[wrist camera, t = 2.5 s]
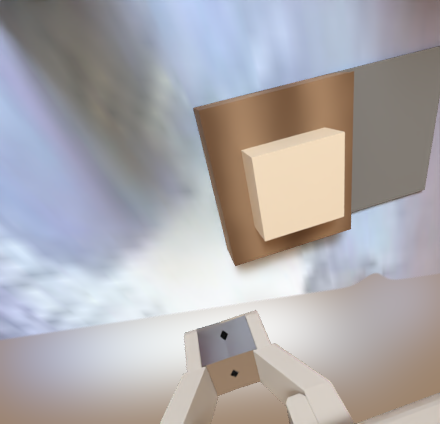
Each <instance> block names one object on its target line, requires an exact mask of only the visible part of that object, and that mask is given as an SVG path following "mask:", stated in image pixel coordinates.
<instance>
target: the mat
mask: <svg viewBox="0 0 440 424" xmlns="http://www.w3.org/2000/svg"><path fill="white" fill-rule="evenodd" d="M351 71H354V104H353V150H352V196H351V212H355V211H358V210H361V209H364V208H367V207H371V206H374V205H377V204H380V203H383V202H387V201H390V200H393V199H396V198H399V197H403V196H406V195H409V194H412V193H415V192H419V191H422V190H425V184H426V178H427V172H428V165H429V159H430V153H431V147H432V141H433V134H434V128H435V122H436V116H437V110H438V103H439V97H440V46H438V47H434V48H430V49H426V50H422V51H418V52H414V53H410V54H406V55H402V56H398V57H394V58H390V59H386V60H382V61H378V62H374V63H370V64H366V65H362V66H358V67H354V68H350V69H346V70H342V71H338V72H334V73H340V72H351Z"/></svg>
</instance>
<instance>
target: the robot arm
mask: <svg viewBox="0 0 440 424" xmlns="http://www.w3.org/2000/svg"><path fill="white" fill-rule="evenodd" d="M184 342H185V352H186V366H187V373H185V374H183V376H182V378H181V380H180V382H179V384H178V386H177V388H176V390H175V392H174V395H173V397H172V399H171V401H170V403H169V405H168V407H167V410H166V412H165V414H164V416H163V418H162V420H161V423H160V424H211V422H212V418H213V414H214V411H215V407H216V404H217V400H218V396H219V395H222V394H225V393H227V392H230V391H232V390H235V389H238V388H241V387H244V386H247V385H250V384H253V383H257V382H260V381H261V383H262V384H263V385H264V386H265V387H266V388H268V390H269V391H270V392H271V393H272V394H273V395H275V396H276V397H277V398H278V399H279V400H280V401H281V402H282V403H283V404H284V405H285V406H286V407H287V412H288V418H289V423H290V424H355V423H354V421H353V419H352V418H351V416H350V414H349V412H348V411H347V409H346V407H345V405H344V404H343V402H342V400H341V398H340V397H339V395H338V393H337V392H336V390H335V388H334V386H333V385H332V383H331V381H329V380H328V379H326V378H325V377H323V376H322V375H320V374H319V373H318V372H316V371H315V370H313V369H312V368H310V367H309V366H307V365H306V364H305V363H303V362H302V361H300V360H298V359H297V358H296V357H294V356H293V355H291V354H290V353H288V352H287V351H285V350H284V349H283V348H281V347H280V346H278V345H277V344H271V343H270V340H269V338H268V335H267V333H266V331H265V329H264V326H263V324H262V321H261V319H260V317H259V315H258V313H257V311H256V310H255V311H252V312H248V313H245V314H242V315H239V316H236V317H233V318H230V319H227V320H224V321H221V322H219V323H216V324H213V325H209V326H205V327H202V328H198V329H196V330H192V331H189V332H186V333H185V334H184ZM356 424H440V393H438V394H435V395H432V396H429V397H427V398H424V399H421V400H419V401H416V402H413V403H411V404H408V405H405V406H403V407H400V408H397V409H394V410H392V411H389V412H386V413H383V414H381V415H378V416H375V417H373V418H370V419H367V420H364V421H362V422H359V423H356Z"/></svg>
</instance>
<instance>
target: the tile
mask: <svg viewBox="0 0 440 424" xmlns="http://www.w3.org/2000/svg"><path fill="white" fill-rule="evenodd" d="M241 152H242V158H243V163H244V169H245V175H246V180H247V186H248V192H249V197H250V203H251V209H252V214H253V220H254V226H255V228H256V229H257V231H258V232H259V234H260V235H261V236H262V238H263V239H264V241H268V240H271V239H274V238H278V237H281V236H284V235H287V234H290V233H294V232H297V231H300V230H303V229H306V228H310V227H313V226H316V225H319V224H322V223H325V222H329V221H332V220H335V219H338V218H341V217H344V171H345V132H343V131H339V130H334V129H330V128H325V127H324V128H321V129H317V130H313V131H310V132H306V133H302V134H299V135H295V136H291V137H288V138H284V139H280V140H277V141H273V142H269V143H266V144H262V145H259V146H255V147H251V148H248V149H244V150H241Z"/></svg>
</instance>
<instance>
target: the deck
mask: <svg viewBox="0 0 440 424" xmlns="http://www.w3.org/2000/svg"><path fill="white" fill-rule="evenodd" d="M353 104H354V71H351V72H340V73H330V74H326V75H322V76H318V77H314V78H310V79H306V80H302V81H298V82H295V83H291V84H287V85H283V86H279V87H275V88H271V89H267V90H263V91H259V92H255V93H251V94H247V95H243V96H239V97H235V98H231V99H227V100H223V101H219V102H215V103H211V104H207V105H203V106H199V107H195V108H193V109H194V113H195V117H196V122H197V126H198V130H199V134H200V138H201V142H202V146H203V150H204V154H205V158H206V163H207V167H208V171H209V175H210V179H211V183H212V187H213V191H214V195H215V199H216V204H217V208H218V212H219V216H220V220H221V224H222V228H223V232H224V236H225V240H226V245H227V249H228V251H229V253H230V255H231V258H232V260H233V262H234V264H235V266H237V265H240V264H243V263H246V262H249V261H253V260H256V259H259V258H262V257H265V256H268V255H271V254H274V253H278V252H281V251H284V250H287V249H290V248H293V247H296V246H299V245H303V244H306V243H309V242H312V241H315V240H318V239H321V238H324V237H328V236H331V235H334V234H337V233H340V232H343V231H346V230H349V229H351V196H352V150H353ZM324 127H325V128H330V129H334V130H339V131H343V132H345V171H344V217H341V218H338V219H335V220H332V221H329V222H325V223H322V224H319V225H316V226H313V227H310V228H306V229H303V230H300V231H297V232H294V233H290V234H287V235H284V236H281V237H278V238H274V239H271V240H268V241H264V239H263V238H262V236H261V235H260V234H259V232H258V231H257V229H256V228H255V226H254V220H253V214H252V209H251V203H250V197H249V192H248V186H247V180H246V175H245V169H244V163H243V158H242V152H241V150H244V149H248V148H251V147H255V146H259V145H262V144H266V143H269V142H273V141H277V140H280V139H284V138H288V137H291V136H295V135H299V134H302V133H306V132H310V131H313V130H317V129H321V128H324Z"/></svg>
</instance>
